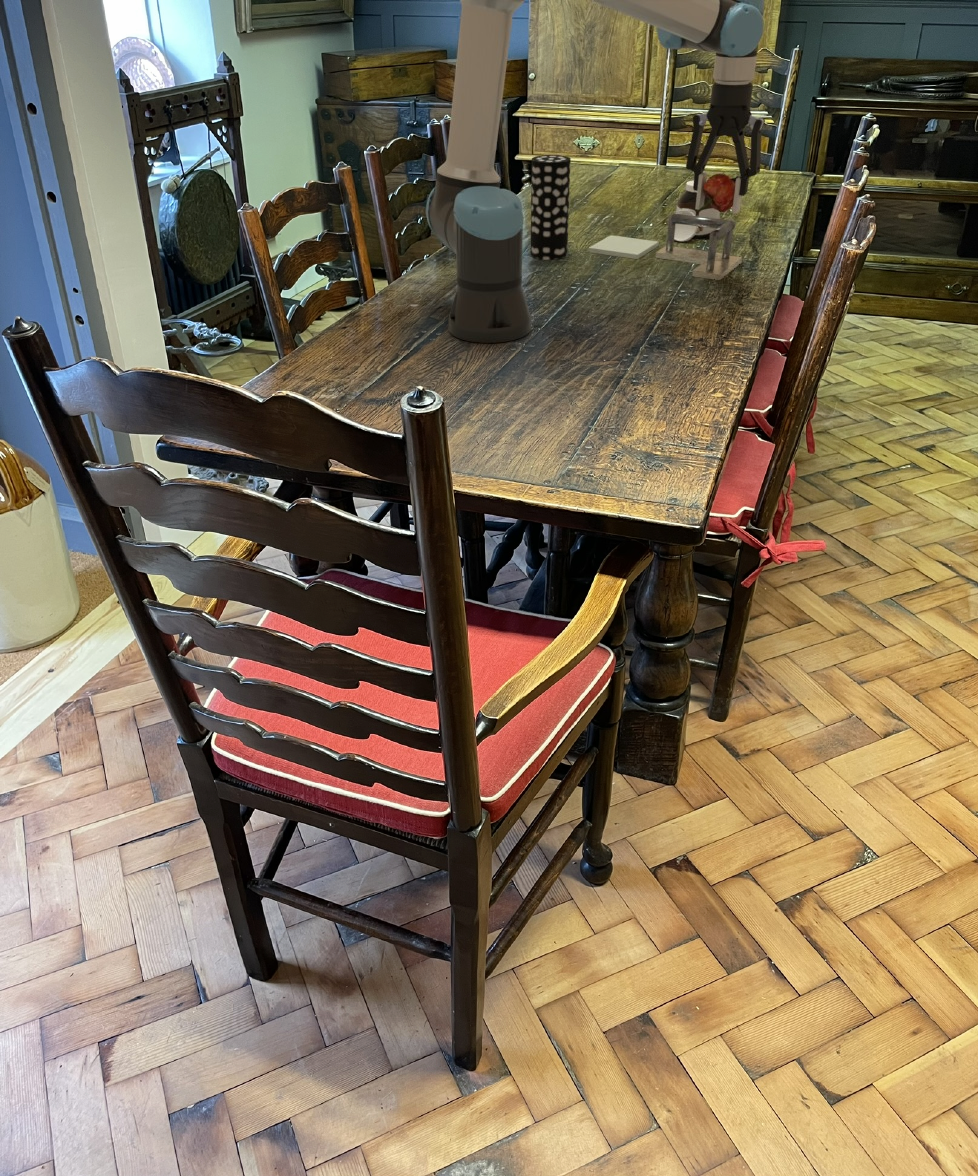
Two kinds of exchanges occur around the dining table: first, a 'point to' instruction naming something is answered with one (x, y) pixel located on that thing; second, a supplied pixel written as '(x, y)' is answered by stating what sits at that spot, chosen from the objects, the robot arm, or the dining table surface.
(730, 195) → the pomegranate
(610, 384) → the dining table surface
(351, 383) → the dining table surface
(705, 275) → the buzz wire
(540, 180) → the white-spotted black cylinder
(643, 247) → the pad
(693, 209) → the spread jar
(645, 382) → the dining table surface
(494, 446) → the dining table surface
